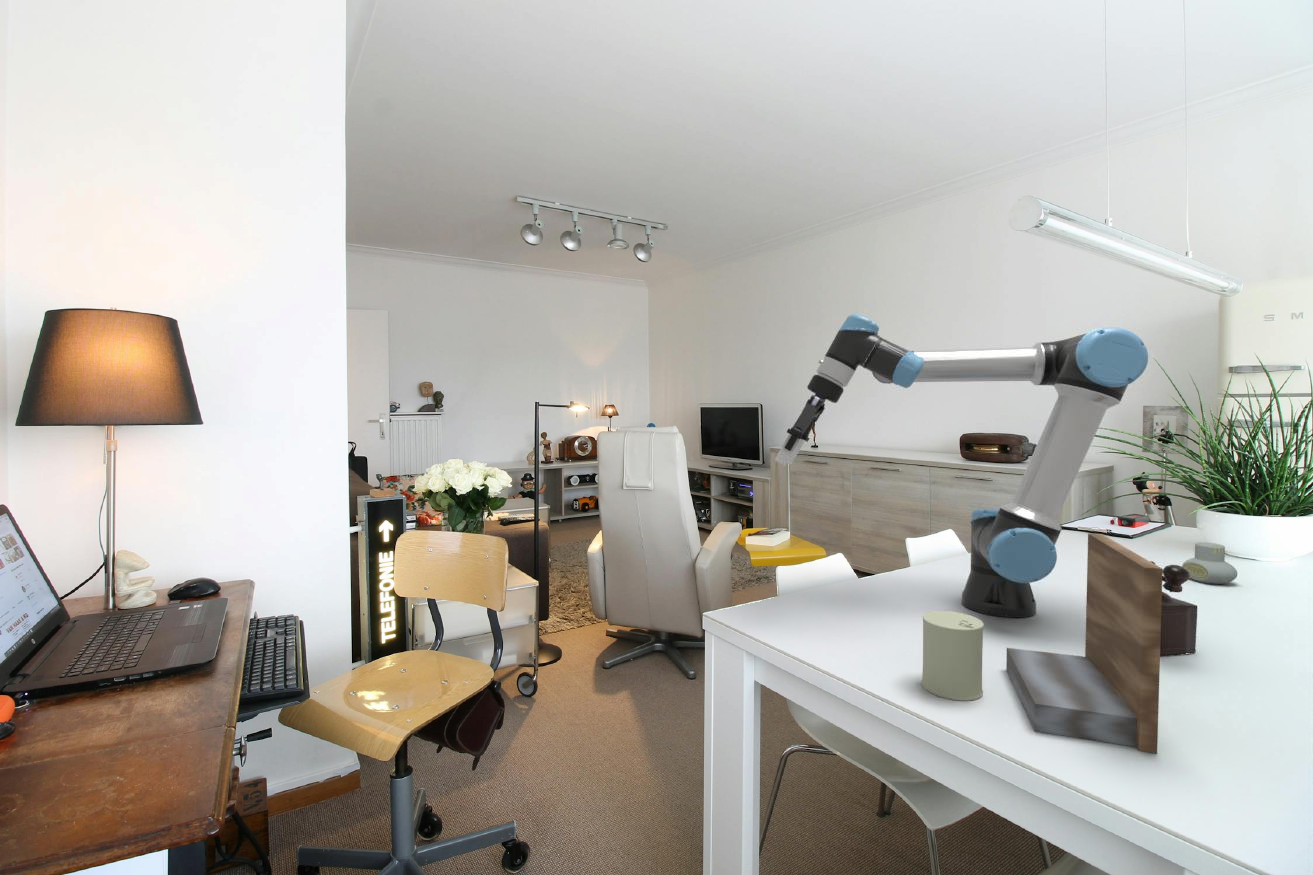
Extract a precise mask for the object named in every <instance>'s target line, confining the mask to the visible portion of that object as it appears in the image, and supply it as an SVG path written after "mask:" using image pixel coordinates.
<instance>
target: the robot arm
mask: <svg viewBox="0 0 1313 875" xmlns="http://www.w3.org/2000/svg"><path fill="white" fill-rule="evenodd" d="M879 331H880V326H879V325H878V323H876V322H874V321H872V320H871V319H869V318H867V317H866V316H863V315H859V314H856V313H855V314H850V315H849V316H847V317H846V319H845V320H844V322H843V324H842V325H841V326H840V328H839V329H838V331H837V333H836V335H835V337H834V339H833V340H832V343H831V344H830V346H829V348H828V349H827V351H826V354H825V355H824V357H823V359H819V360H818V364H819V366H818V368H817V369H816V373H817V374H814V375H813V376H812V378H811V379H810V381H809V383H808V385H807V387H806V388H807V390H809V391H810V392H811V393H813V394H812V395H811V396H810V397H809V398H808V399H807V401H806V403H805V405H804V407H803V409H802V410H801V413H800V414H799V417H798V418H797V419H796V421H795V422H794V424H793V426H792V427H791V428H788V429H787V430H786V433H788V435H787V437H786V439H785V440H784V442H783V444H782V445H781V447H780V449H779V451H778V453H777V454H776V456H775V458H774V461H775V462H777V463H779V464H781V465H782V466H784V467H786V466H787V464H789V465H793V462H794V461H795V459H796V457H797V455H798V454H799V452H800V450H801V449H802V447H803V445H804V443H805V442H807V443H808V442H809V440H810V437H809V435H810V432H811V431H812V429H813V427H814V426H815V423H816V422H817V421H818V420H819V419H820V416H821V415H822V414H823V413H824V411H825V409H826V408H825V402H826V400H827V401H829V402H831V403H834V404H836V403H838V402H839V400H840V398H841V397H842V395H843V393H844V388H845V387H847V386H848V385H849V383H850V382H851V381H852V380H851V379H853V376H854V374H856V371H857V369H858V367H862V368H863V369H866V370H867V371H869V372H871V374H872V375H873V377H874V379H876V380H877V382H879V383H882V384H889V385H891V384H893V385H896V386H897V385H898V386H899V387H902V388H904V389H909V388H910V387H911V386H912V385H913V384H914V383H942V382H944V383H949V382H953V383H956V382H957V383H958V382H959V383H961V382H962V383H963V382H969V383H970V382H1031V384H1033V385H1034V386H1052V387H1054V389H1055V391H1056V393H1057V399H1056V401H1055V403H1054V405H1053V408H1052V410H1051V411H1050V412H1051V413H1050V415H1049V416H1048V419H1047V421H1046V424H1045V426H1044V428H1043V430H1042V433H1041V435H1040V437H1039V440H1038V441H1037V444H1036V446H1035V448H1034V451H1033V453H1032V456H1031V458H1030V459H1029V462H1028V464H1027V467H1026V469H1025V471H1024V473H1023V476H1022V478H1021V481H1020V483H1019V485H1018V487H1017V490H1016V492H1015V494H1014V497H1013V498H1012V500H1011V501H1010V502H1009V503H1007V504H1003V505H1001V506H1000V507H999V509H995V508H993V509H992V508H991V509H990V508H975V509H974V510H973V511H972V512H971V519H970V520H969V521H970V525H971V526H970V572H969V574H968V578H967V580H966V583H965V586H964V589H963V590H962V593H961V604H962V605H963V606H964V607H966V608H967V609H969V610H972V611H975V612H977V613H982V614H985V615H990V616H995V617H1003V618H1028V617H1032V616H1034V615H1036V614H1037V601H1036V599H1035V596H1034V593H1033V589H1032V587H1031V583H1035V582H1038V581H1041V580H1043V579H1045V578H1046V577H1048V576H1049V574H1051V573H1052V571H1053V570H1054V568H1055V567H1056V565H1057V564H1056V563H1057V559H1058V556H1057V549H1056V546H1055V545H1056V543H1057V541H1058V539H1059V536H1060V535H1061V532H1062V529H1063V528H1062V527H1061V525H1060V523H1059V520H1058V518H1059V515H1060V513H1061V511H1062V508H1063V506H1064V504H1065V502H1066V499H1067V498H1068V495H1069V493H1070V491H1071V490H1072V487H1073V485H1074V482H1075V480H1076V478H1077V476H1078V473H1079V471H1080V469H1081V467H1082V464H1083V463H1084V460H1085V458H1086V456H1087V454H1088V451H1089V449H1090V447H1091V445H1092V443H1093V440H1094V438H1095V436H1096V434H1097V432H1098V430H1099V428H1100V425H1101V423H1102V420H1103V418H1104V416H1105V414H1106V412H1107V411H1108V409H1110V408H1112V407H1115V406H1118V405H1119V404H1120V403H1121V401H1122V399H1123V397H1124V394H1125V392H1126V390H1127V388H1128V386H1129V385H1130V384H1132V383H1134V382H1136V380H1137V379H1139V378H1140V377H1141V376H1142V375H1143V373H1144V372H1145V370H1146V369H1147V366H1148V363H1149V352H1148V349H1147V347H1146V344H1145V343H1144V340H1142V339H1141V337H1140V336H1138V335H1137V334H1136V333H1135V332H1133V331H1130V330H1128V329H1125V328H1122V327H1112V326H1111V327H1100V328H1096V329H1095V328H1094V329H1093V330H1090V331H1088V332H1087V333H1083V334H1079V335H1077V336H1072V337H1070V338H1069V337H1068V338H1066V339H1062V340H1061V339H1060V340H1055V341H1049V342H1044V341H1043V342H1036V343H1034V345H1032V346H1031V347H1004V348H1003V347H1000V348H999V347H997V348H996V347H995V348H965V349H962V348H961V349H960V348H959V349H930V350H928V349H926V350H909V349H906V348H904V347H902V346H900V345H898V344H895V343H893V342H891V341H889V340H887V339H884V338H883V337H881V336H880V335H878V334H879Z"/></svg>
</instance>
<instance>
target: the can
mask: <svg viewBox="0 0 1313 875" xmlns="http://www.w3.org/2000/svg"><path fill="white" fill-rule="evenodd" d="M984 625H985V624H984V622H983V621H982V620H981V619H979V618H977V617H975V616H973V615H970V614H966V613H964V612H962V613H961V612H958V611H949V610H933V611H928V612H926V613H925V612H924V614H923V615H922V672H921V673H922V678H921V686H922V687H923V688H924V689H925V691H927V692H929V693H931V694H932V695H935V696H937V697H941V698H942V699H948V700H951V701H961V702H968V701H975V700H978V699H981V698H982V697H983V694H984V691H983V646H984V645H983V643H984V642H983V641H984Z"/></svg>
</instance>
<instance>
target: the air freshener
mask: <svg viewBox="0 0 1313 875" xmlns="http://www.w3.org/2000/svg"><path fill="white" fill-rule="evenodd" d="M1225 554H1226V547H1225V546H1224V544H1220V543H1214V542H1205V541H1202V542H1200V541H1199V542H1196V543H1195V544H1194V557H1192V558H1189V559H1187V560H1185V561H1184V562H1183V563H1182V565H1181V567H1183V568H1185V569H1186V570H1187V571H1188V572H1189V574H1190V578H1189V579H1192V580H1194V582H1198V583H1203V584H1208V583H1209V584H1208V585H1210V584H1211V585H1224V584H1228V583H1230V582H1231V583H1232V582H1233V581H1234V580H1236V579H1237V577H1238V570H1237V569H1236V567H1234V565H1233V564H1230V563H1229V562H1227V561H1225V560H1226V558H1225V557H1226V556H1225Z"/></svg>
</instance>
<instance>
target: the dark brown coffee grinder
mask: <svg viewBox="0 0 1313 875" xmlns="http://www.w3.org/2000/svg"><path fill="white" fill-rule="evenodd" d="M1149 561H1150V562H1152V563H1153V564H1155V565H1157V564H1156V563H1155V562H1154V561H1152V560H1149ZM1162 569H1163V571H1162V582H1164V583H1162V588H1163V589H1165V590H1167V591H1169V593H1182V592H1183V586H1182V585H1183V584H1184V583H1186V582H1187V581H1189V580H1190V579H1191V578H1190V574H1189V572H1188V571H1187V570H1186V569H1185V568H1183V567H1182V565H1179V564H1169V565H1166V566H1164V568H1162ZM1197 622H1198V605H1196V604H1194V603H1190V602H1188V601H1185V600H1181V599H1177V598H1175V597H1172V596H1171V595H1169V594H1168V593H1166V592H1164V591H1162V605H1161V640H1160V657H1166V656H1165V655H1174V656H1182V655H1181V654H1186V653H1193V654H1195V653H1197V652H1196V651H1197V650H1196V644H1197V627H1198V625H1197V624H1198V623H1197ZM1194 652H1195V653H1194Z"/></svg>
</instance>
